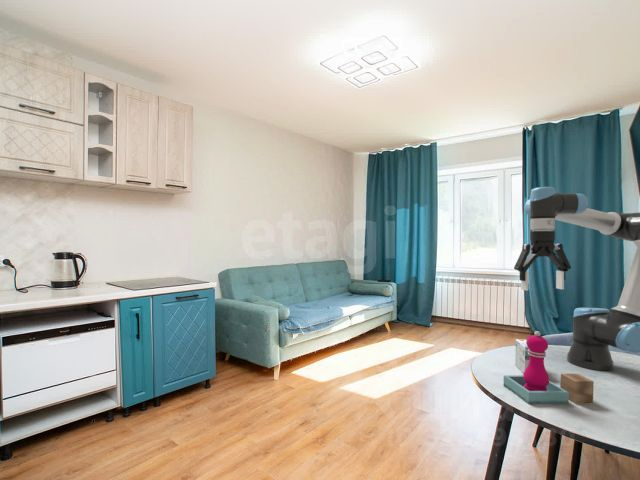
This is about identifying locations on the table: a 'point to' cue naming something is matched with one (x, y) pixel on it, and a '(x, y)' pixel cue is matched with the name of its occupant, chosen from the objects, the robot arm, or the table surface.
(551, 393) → the tray
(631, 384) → the table surface
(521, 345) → the light bulb box
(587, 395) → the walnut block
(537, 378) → the pepper mill
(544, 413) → the table surface
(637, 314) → the robot arm
